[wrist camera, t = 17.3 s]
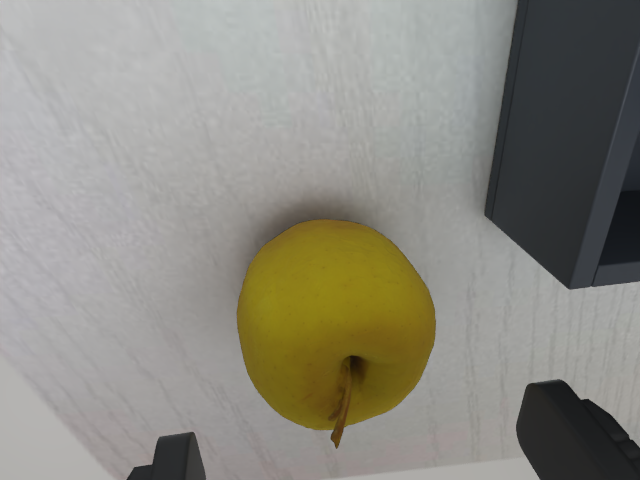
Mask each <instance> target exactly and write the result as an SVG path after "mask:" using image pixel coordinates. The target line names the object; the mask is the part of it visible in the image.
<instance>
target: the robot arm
mask: <svg viewBox="0 0 640 480" xmlns="http://www.w3.org/2000/svg"><path fill="white" fill-rule="evenodd" d="M516 432H517V437H518V441H519V444H520V446H521V448H522V450H523V452H524V454H525V455H526V457H527V459H528V460H529V462H530V464H531V465H532V467H533V469H534V470H535V472H536V473H537V475H538V477H539V478H540V480H640V448H639V446H638V445H637V444H636V443H635V442H634V441H633V440H630V438H629V435H628V434H627V433H626V432H625V430H624V429H623V428H622V427H621V426H620V425H619V424H618V422H617V421H616V420H615V419H614V418H613V417H612V416H611V415H610V414H609V413H607V412H606V411H605V410H603V409H602V408H600V407H599V406H597V405H596V404H595V403H593V402H592V401H590V400H589V399H584V400H580V398H579V397H578V396H577V395H576V394H575V392H574V391H573V390H572V389H571V388H570V386H569V385H568V384H567V383H566V382H564V381H562V380H560V379H557V380H550V381H544V382H537V383H530V384H528V385H527V387H526V390H525V393H524V397H523V401H522V405H521V408H520V412H519V416H518V420H517V424H516ZM127 480H206V476H205V470H204V466H203V463H202V459H201V455H200V451H199V447H198V443H197V440H196V436H195V433H194V432H189V433H182V434H175V435H168V436H162V437H159V439H158V441H157V444H156V449H155V454H154V459H153V464H152V465H146V466H139V467H134V469H133V470H132V472H131V473H130V475H129V477H128V478H127Z"/></svg>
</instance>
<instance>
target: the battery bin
mask: <svg viewBox="0 0 640 480" xmlns="http://www.w3.org/2000/svg"><path fill="white" fill-rule="evenodd" d="M485 216H486V217H487V218H488V219H489V220H491V221H492V222H493V223H494V224H495V225H496V226H497V227H499V228H500V229H501V230H502V231H503V232H504V233H505V234H506V235H508V236H509V237H510V238H511V239H512V240H513V241H514V242H516V243H517V244H518V245H519V246H520V247H521V248H522V249H523V250H525V251H526V252H527V253H528V254H529V255H530V256H531V257H532V258H534V259H535V260H536V261H537V262H538V263H539V264H540V265H542V266H543V267H544V268H545V269H546V270H547V271H548V272H549V273H551V274H552V275H553V276H554V277H555V278H556V279H557V280H559V281H560V282H561V283H562V284H563V285H564V286H565V287H566V288H568V289H578V288H586V287H590V286H592V287H597V286H605V285H613V284H621V283H630V282H638V281H640V0H519V3H518V10H517V16H516V22H515V28H514V35H513V41H512V47H511V53H510V60H509V66H508V72H507V78H506V85H505V91H504V97H503V103H502V110H501V116H500V122H499V128H498V134H497V141H496V147H495V153H494V159H493V166H492V172H491V178H490V184H489V191H488V197H487V203H486V209H485Z"/></svg>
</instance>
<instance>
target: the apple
mask: <svg viewBox="0 0 640 480" xmlns="http://www.w3.org/2000/svg"><path fill="white" fill-rule="evenodd" d="M237 326H238V333H239V338H240V343H241V349H242V353H243V358H244V362H245V366H246V369H247V372H248V375H249V377H250V379H251V381H252V382H253V384H254V386H255V388H256V389H257V391H258V392H259V393H260V395H261V396H262V397H263V398H264V399H265V400H266V402H267V403H268V404H269V405H270V406H271V407H272V408H273V409H274V410H275V411H276V412H278V413H279V414H280V415H281V416H283V417H284V418H286V419H288V420H290V421H292V422H294V423H296V424H299V425H302V426H304V427H306V428H312V429H314V430H334V431H333V433H332V434H331V440H332V441H333V442H334V443H335V447H336V449H337V448H338V446H339V443H340V439H341V436H342V433H343V429H344V427H346V426H347V425H352V424H355V423H358V422H361V421H364V420H366V419H369V418H372V417H375V416H377V415H380V414H383V413H385V412H387V411H389V410H391V409H392V408H394V407H395V406H397V405H398V404H399V403H400V402H401V401H402V400H403V399H404V398H405V397H406V396H407V395H408V394H409V393H410V392H411V391H412V390H413V389H414V387H415V386H416V385H417V383H418V382H419V380H420V378H421V376H422V373H423V371H424V369H425V367H426V365H427V362H428V359H429V356H430V353H431V351H432V348H433V346H434V340H435V329H436V320H435V308H434V305H433V301H432V298H431V295H430V292H429V290H428V288H427V287H426V285H425V283H424V282H423V280H422V279H421V277H420V276H419V274H418V273H417V271H416V270H415V269H414V267H413V266H412V264H411V263H410V262H409V260H408V259H407V258H406V256H405V255H404V254H403V253H402V252H401V251H400V250H399V248H398V247H397V246H396V245H395V244H394V243H393V242H392V241H391V240H389V239H388V238H386V237H385V236H384V235H382V234H380V233H379V232H377V231H376V230H374V229H372V228H370V227H367V226H364V225H361V224H359V223H354V222H349V221H342V220H330V219H318V220H309V221H305V222H301V223H299V224H296V225H294V226H292V227H291V228H289V229H287V230H285V231H284V232H283V233H281V234H280V235H278V236H277V237H275V238H274V239H272V240H271V241H269V242H268V243H267V244H265V245H264V246H263V247H262V248H261V249H260V251H259V252H258V253H257V255H256V256H255V257H254V259H253V261H252V262H251V264H250V265H249V267H248V270H247V273H246V276H245V279H244V282H243V286H242V289H241V293H240V296H239V301H238V308H237Z"/></svg>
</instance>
